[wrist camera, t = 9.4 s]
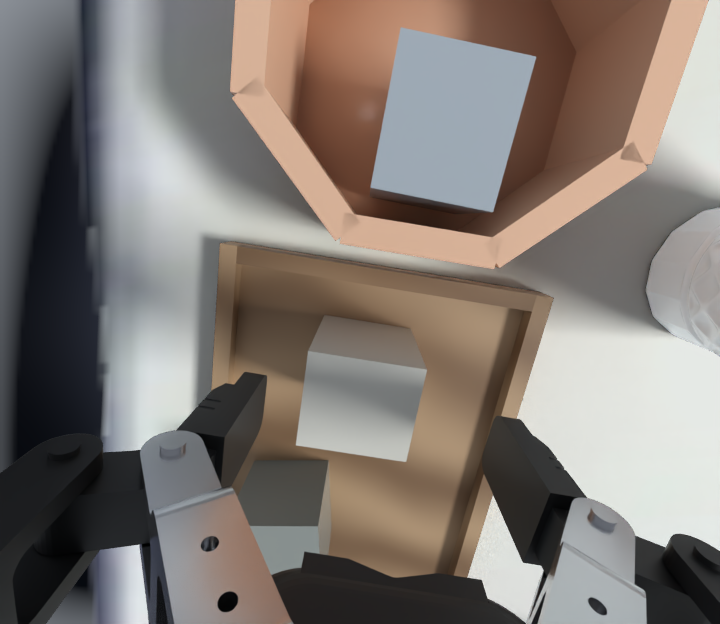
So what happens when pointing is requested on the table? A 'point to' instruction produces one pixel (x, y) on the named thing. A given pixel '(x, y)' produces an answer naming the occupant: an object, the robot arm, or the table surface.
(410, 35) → the pale blue cube
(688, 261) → the white cup
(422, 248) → the terracotta bowl
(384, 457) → the pale grey cube
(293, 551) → the medium grey cube
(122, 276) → the table surface
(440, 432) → the walnut tray
